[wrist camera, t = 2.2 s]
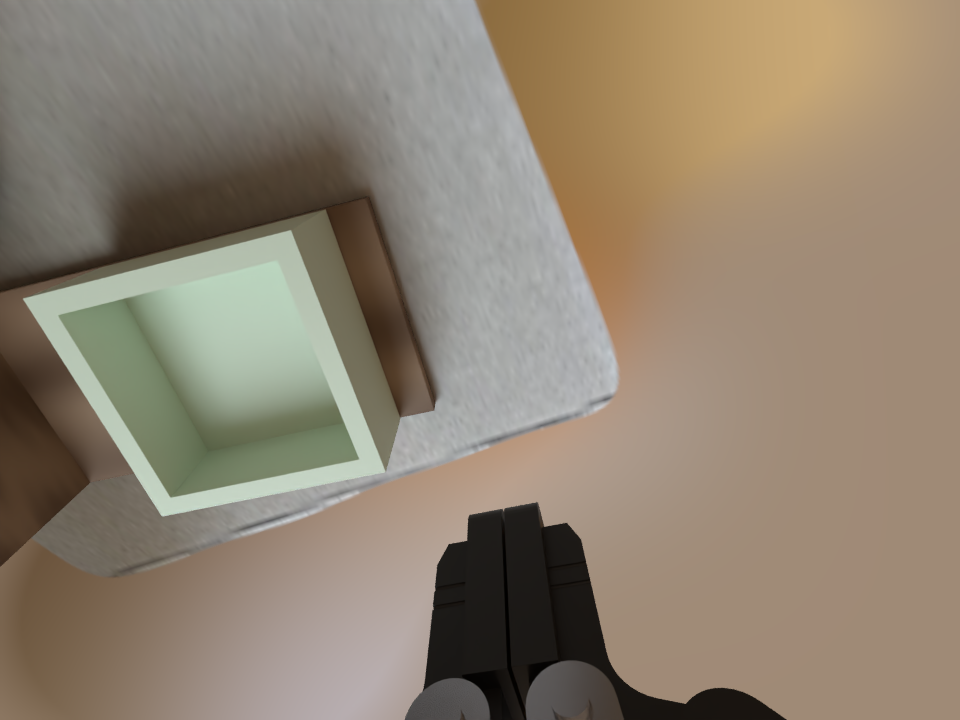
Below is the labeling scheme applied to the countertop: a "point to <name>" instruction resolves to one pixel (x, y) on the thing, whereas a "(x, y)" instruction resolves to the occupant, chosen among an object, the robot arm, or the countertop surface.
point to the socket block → (229, 365)
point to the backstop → (77, 428)
